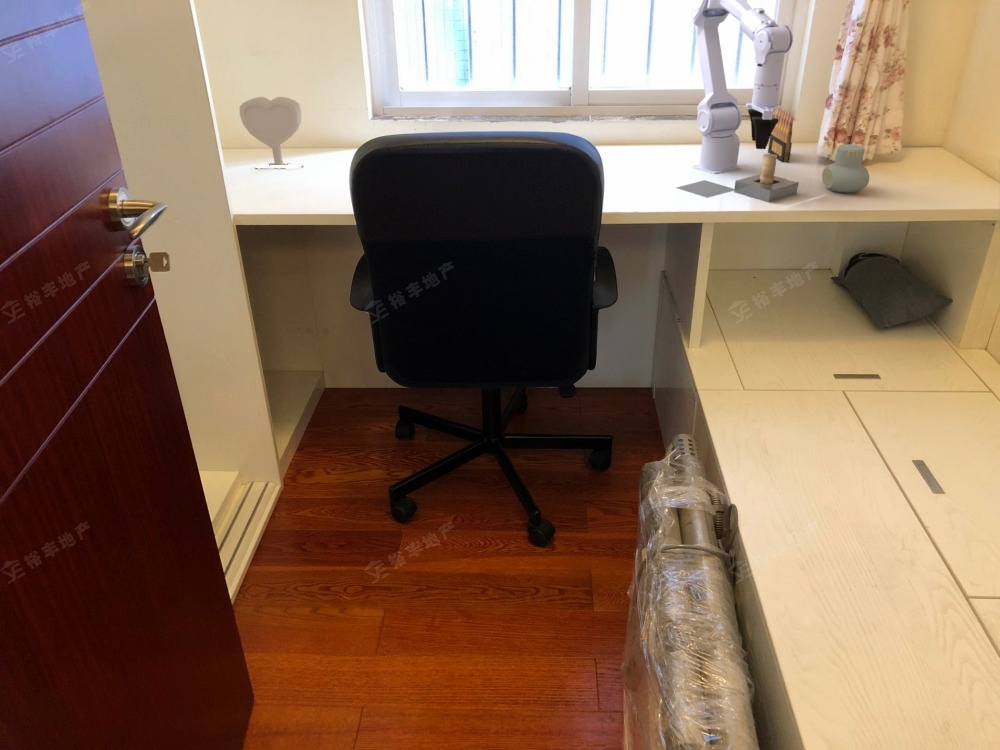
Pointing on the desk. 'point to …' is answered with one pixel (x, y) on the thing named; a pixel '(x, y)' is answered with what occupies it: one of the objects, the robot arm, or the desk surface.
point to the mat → (705, 188)
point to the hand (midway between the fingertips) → (758, 144)
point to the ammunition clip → (781, 137)
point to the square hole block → (766, 188)
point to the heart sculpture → (271, 121)
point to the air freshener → (846, 170)
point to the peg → (768, 169)
